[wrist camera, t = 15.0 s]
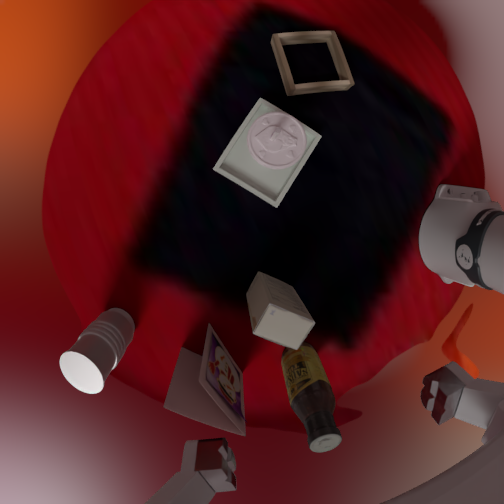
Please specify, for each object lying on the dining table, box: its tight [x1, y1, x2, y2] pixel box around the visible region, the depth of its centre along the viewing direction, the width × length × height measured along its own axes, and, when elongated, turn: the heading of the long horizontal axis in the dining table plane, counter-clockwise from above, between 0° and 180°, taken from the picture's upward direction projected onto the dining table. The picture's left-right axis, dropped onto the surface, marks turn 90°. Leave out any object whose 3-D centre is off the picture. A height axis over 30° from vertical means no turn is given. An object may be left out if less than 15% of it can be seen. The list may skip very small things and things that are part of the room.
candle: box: [60, 308, 135, 394], centre depth 35 cm, size 7×7×15 cm
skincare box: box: [246, 272, 315, 350], centre depth 37 cm, size 6×4×12 cm
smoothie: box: [247, 112, 307, 169], centre depth 30 cm, size 6×6×14 cm
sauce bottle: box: [281, 342, 342, 452], centre depth 36 cm, size 7×6×20 cm
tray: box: [213, 98, 322, 208], centre depth 37 cm, size 12×10×2 cm
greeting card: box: [164, 323, 247, 436], centre depth 37 cm, size 11×7×15 cm, turn 27°
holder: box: [271, 31, 354, 96], centre depth 34 cm, size 10×10×3 cm
